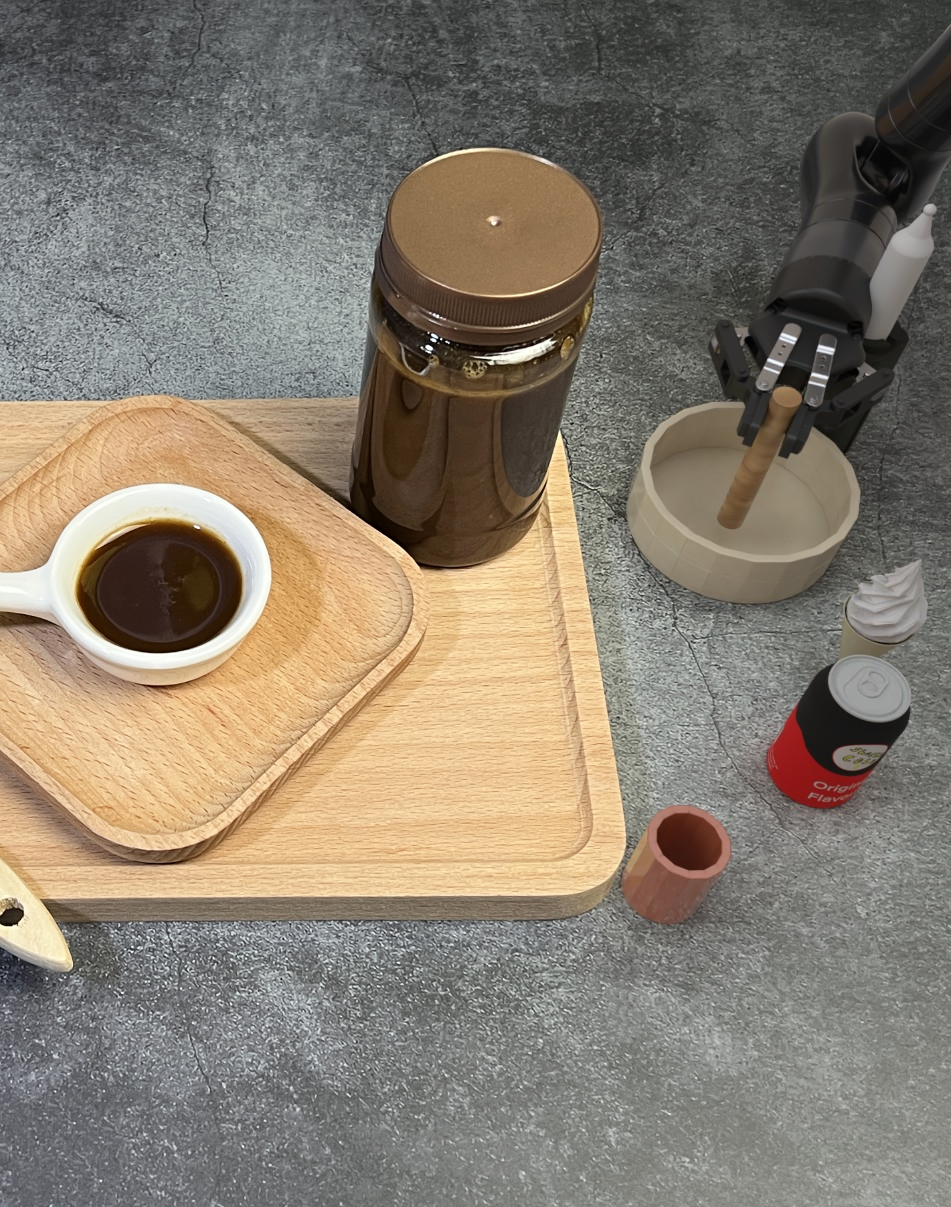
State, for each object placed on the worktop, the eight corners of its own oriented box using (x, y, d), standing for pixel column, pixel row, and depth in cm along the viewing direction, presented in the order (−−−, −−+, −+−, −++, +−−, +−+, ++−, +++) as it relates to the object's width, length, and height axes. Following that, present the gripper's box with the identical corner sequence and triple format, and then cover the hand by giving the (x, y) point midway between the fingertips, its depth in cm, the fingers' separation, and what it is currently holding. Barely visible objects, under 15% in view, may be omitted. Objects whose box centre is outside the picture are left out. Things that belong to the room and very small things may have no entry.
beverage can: (745, 778, 103) (801, 690, 93) (789, 721, 106) (847, 630, 96) (827, 831, 101) (893, 746, 91) (869, 771, 103) (938, 683, 93)
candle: (807, 411, 123) (926, 172, 103) (855, 447, 120) (986, 209, 100) (766, 437, 121) (878, 200, 101) (814, 475, 119) (938, 238, 99)
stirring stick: (747, 526, 113) (807, 403, 101) (724, 532, 113) (781, 409, 101) (735, 507, 114) (793, 383, 102) (712, 513, 114) (767, 389, 102)
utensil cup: (710, 885, 99) (745, 833, 92) (675, 943, 96) (709, 894, 90) (640, 843, 101) (670, 790, 94) (605, 900, 98) (633, 849, 92)
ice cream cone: (830, 714, 106) (910, 596, 94) (791, 660, 109) (864, 539, 97) (889, 694, 107) (976, 575, 95) (849, 641, 110) (929, 519, 97)
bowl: (867, 505, 117) (893, 460, 113) (783, 638, 110) (807, 597, 106) (680, 418, 123) (698, 372, 119) (590, 539, 116) (605, 496, 112)
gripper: (748, 229, 110) (685, 376, 101) (937, 281, 105) (889, 440, 97) (720, 302, 116) (658, 447, 107) (898, 355, 112) (849, 510, 103)
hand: (768, 443), depth 102 cm, fingers closed on stirring stick, 2 cm apart
